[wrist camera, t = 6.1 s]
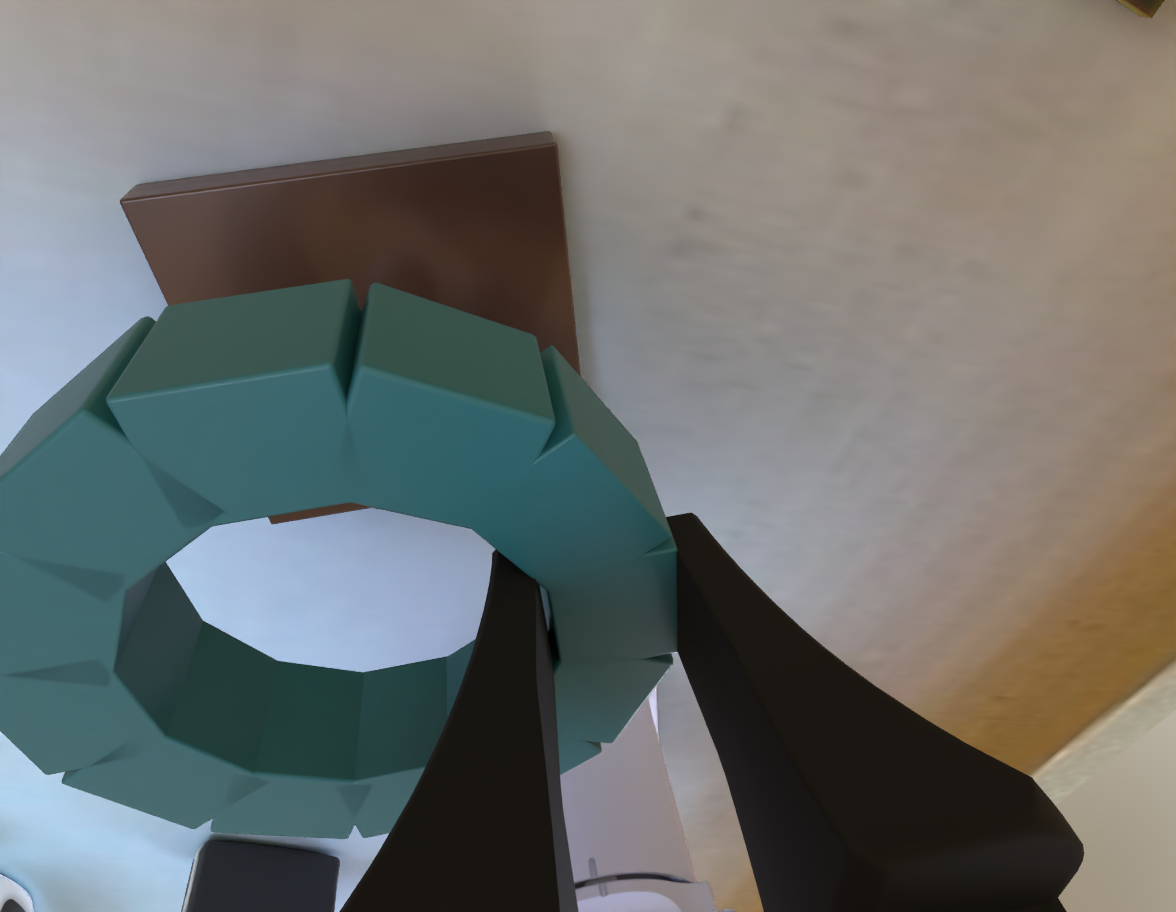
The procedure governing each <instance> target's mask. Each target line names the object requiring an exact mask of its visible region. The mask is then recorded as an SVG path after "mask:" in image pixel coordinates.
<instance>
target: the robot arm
mask: <svg viewBox="0 0 1176 912" xmlns="http://www.w3.org/2000/svg"><path fill="white" fill-rule="evenodd" d="M666 519H667V522H668V525H669V528H670V530H671V533H672V536H673V538H674V541H675V544H676V546H677V549H678V550H677V552H676V555H677V619H678V654H679V656H680V659H681V661H682V664H683V666H684V669H685V671H686V674H687V677H688V679H689V682H690V684H691V687H692V689H693V692H694V694H695V697H696V699H697V702H698V704H699V707H700V709H701V712H702V714H703V717H704V719H705V722H706V725H707V727H708V730H709V732H710V735H711V737H712V740H713V742H714V745H715V747H716V750H717V752H718V755H719V758H720V761H721V764H722V767H723V769H724V772H725V775H726V778H727V782H728V785H729V789H730V792H731V796H732V799H733V802H734V806H735V809H736V813H737V816H738V820H739V823H740V826H741V830H742V833H743V837H744V841H745V844H746V848H747V851H748V855H749V858H750V862H751V866H752V869H753V873H754V876H755V880H756V883H757V887H758V891H759V895H760V898H761V902H762V906H763V910H764V912H1066V910H1065V909H1064V907H1063V905H1062V904H1061V902H1060V901H1059V899H1058V897H1059V895H1060V894H1061V893H1062V891H1063V890H1064V889H1065V887H1066V886H1067V884H1068V883H1069V882H1070V880H1071V879H1072V878H1073V876H1074V875H1075V874H1076V872H1077V871H1078V869H1079V867H1080V865H1081V863H1082V861H1083V856H1084V849H1083V844H1082V842H1081V841H1080V840H1079V838H1078V837H1077V835H1076V834H1075V832H1074V831H1073V829H1072V828H1071V826H1070V825H1069V824H1068V822H1067V821H1066V819H1065V818H1064V816H1063V815H1062V814H1061V812H1060V811H1059V810H1058V809H1057V807H1056V806H1055V805H1054V803H1053V802H1052V801H1051V800H1050V799H1049V797H1048V796H1047V795H1046V794H1045V793H1044V792H1043V790H1042V789H1041V788H1040V787H1039V786H1038V785H1037V783H1036V782H1035V781H1034V780H1033V778H1032V777H1030V776H1028V775H1026V774H1024V773H1022V772H1020V771H1018V770H1016V769H1014V768H1012V767H1010V766H1009V765H1007V764H1005V763H1003V762H1001V761H999V760H997V759H995V758H993V757H991V756H989V755H987V754H985V753H983V752H982V751H980V750H978V749H976V748H974V747H972V746H970V745H968V744H966V743H965V742H963V741H961V740H960V739H958V738H956V737H955V736H953V735H951V734H949V733H948V732H946V731H944V730H943V729H941V728H939V727H938V726H936V725H934V724H933V723H931V722H929V721H928V720H926V719H925V718H923V717H921V716H920V715H918V714H917V713H915V712H914V711H912V710H911V709H909V708H908V707H906V706H905V705H903V704H902V703H900V702H899V701H897V700H896V699H894V698H893V697H891V696H890V695H888V694H887V693H885V692H884V691H882V690H881V689H879V688H877V687H876V686H875V685H873V684H872V683H870V682H869V681H868V680H866V679H865V678H864V677H862V676H861V675H860V674H858V673H857V672H856V671H854V670H853V669H852V668H850V667H849V666H847V665H846V664H845V663H844V662H842V661H841V660H840V659H839V658H837V657H836V656H835V655H833V654H832V653H831V652H830V651H828V650H827V649H826V648H825V647H823V646H822V645H821V644H820V643H819V642H818V641H816V640H815V639H814V638H813V637H812V636H810V635H809V634H808V633H807V632H806V631H805V630H804V629H802V628H801V627H800V626H799V625H798V624H797V623H796V622H795V621H794V620H793V619H791V618H790V617H789V616H788V615H787V614H786V613H785V612H784V611H783V610H782V609H781V608H780V607H778V606H777V605H776V604H775V603H774V602H773V601H772V600H771V599H770V598H769V597H768V596H767V595H766V594H765V593H764V592H763V591H762V590H761V589H760V588H759V587H758V586H757V585H756V584H755V583H754V582H753V580H752V579H751V578H750V577H749V576H748V575H747V574H746V573H745V572H744V571H743V570H742V569H741V568H740V567H739V566H738V565H737V564H736V562H735V561H734V560H733V559H732V558H731V557H730V556H729V555H728V553H727V552H726V551H725V550H724V549H723V548H722V547H721V545H720V544H719V543H718V542H717V541H716V540H715V538H714V537H713V536H712V535H711V533H710V532H709V531H708V530H707V528H706V527H705V526H704V525H703V523H702V522H701V521H700V520H699V518H698V517H697V516H696V515H694V514H693V513H686V514H681V515H675V516H670V517H666ZM600 743H601V742H600ZM601 748H602V752H601V753H600V754H598V755H596V756H595V757H593V758H591V759H589V760H587V761H585V762H584V763H582V764H580V765H578V766H576V767H574V768H572V769H571V770H569V771H567V772H565V773H563V774H561V775H560V765H559V748H558V732H557V715H556V699H555V683H554V673H553V663H552V656H551V649H550V643H549V637H548V630H547V624H546V618H545V612H544V607H543V601H542V596H541V591H540V585H539V584H538V583H537V582H536V579H532V578H531V577H530V576H528V575H527V574H526V573H525V572H523V571H522V570H521V569H520V568H519V567H517V566H516V565H515V564H514V563H512V562H511V561H510V560H509V559H508V558H506V557H505V556H504V555H503V554H502V553H500V552H499V551H498V550H497V549H496V550H495V551H494V552H493V553H492V568H491V576H490V582H489V588H488V593H487V597H486V602H485V607H484V611H483V615H482V618H481V622H480V626H479V629H478V633H477V637H476V640H475V644H474V647H473V651H472V654H471V657H470V660H469V663H468V665H467V668H466V671H465V674H464V677H463V680H462V683H461V686H460V689H459V691H458V694H457V697H456V699H455V702H454V704H453V707H452V709H451V712H450V714H449V717H448V719H447V722H446V724H445V726H444V728H443V731H442V733H441V735H440V738H439V740H438V742H437V744H436V746H435V749H434V751H433V753H432V755H431V757H430V759H429V761H428V763H427V765H426V767H425V769H424V771H423V773H422V775H421V777H420V779H419V781H418V783H417V785H416V787H415V789H414V791H413V793H412V795H411V797H410V798H409V800H408V802H407V804H406V806H405V807H404V809H403V811H402V813H401V814H400V816H399V818H398V819H397V821H396V823H395V825H394V826H393V828H392V830H391V832H390V833H389V835H388V837H387V838H386V840H385V842H384V844H383V845H382V847H381V849H380V851H379V852H378V854H377V855H376V857H375V859H374V860H373V862H372V864H371V865H370V867H369V868H368V870H367V871H366V873H365V874H364V876H363V877H362V879H361V880H360V882H359V883H358V885H357V886H356V888H355V889H354V891H353V892H352V894H351V895H350V897H349V898H348V900H347V901H346V903H345V904H344V906H343V907H342V909H341V910H340V912H737V911H735V910H734V909H731V908H727V909H723V910H720V911H717V908H716V904H715V901H714V897H713V894H712V890H711V886H710V883H709V882H708V881H704V882H697V880H696V877H695V873H694V869H693V866H692V862H691V858H690V854H689V851H688V847H687V843H686V839H685V836H684V832H683V828H682V824H681V821H680V817H679V813H678V809H677V806H676V802H675V798H674V795H673V791H672V787H671V783H670V780H669V776H668V772H667V768H666V765H665V761H664V757H663V753H662V750H661V746H660V742H659V738H658V713H657V688H656V687H655V689H654V690H653V691H652V692H651V694H650V695H649V696H648V698H647V699H646V700H645V702H644V703H643V704H642V706H641V707H640V708H639V710H638V711H637V712H636V714H635V715H634V716H633V718H632V719H631V720H630V721H629V723H628V724H627V725H626V727H625V728H624V729H623V731H622V732H621V733H620V735H619V736H618V737H617V739H616V740H615V741H614V742H613V743H601Z"/></svg>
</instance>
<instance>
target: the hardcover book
mask: <svg viewBox="0 0 1176 912" xmlns="http://www.w3.org/2000/svg"><path fill="white" fill-rule="evenodd" d="M1117 1H1118V2H1120V3H1121V4H1123V5H1124V6H1126V7H1127V8H1129V9H1130V10H1131V11H1133V12H1134V13H1136V14H1137V15H1139V16H1142V17H1148V18H1152V17H1153V16H1154V14H1155V13H1156V11H1157V10H1158V9H1159V7H1160V6H1161V4H1162V3H1163V2H1164V0H1117Z"/></svg>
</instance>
